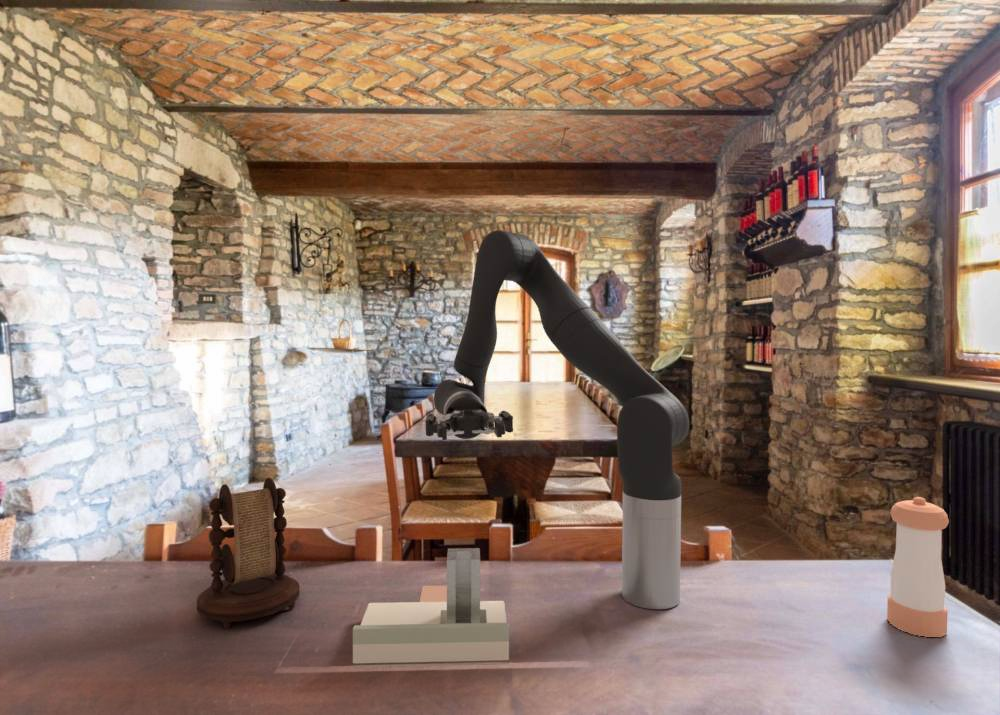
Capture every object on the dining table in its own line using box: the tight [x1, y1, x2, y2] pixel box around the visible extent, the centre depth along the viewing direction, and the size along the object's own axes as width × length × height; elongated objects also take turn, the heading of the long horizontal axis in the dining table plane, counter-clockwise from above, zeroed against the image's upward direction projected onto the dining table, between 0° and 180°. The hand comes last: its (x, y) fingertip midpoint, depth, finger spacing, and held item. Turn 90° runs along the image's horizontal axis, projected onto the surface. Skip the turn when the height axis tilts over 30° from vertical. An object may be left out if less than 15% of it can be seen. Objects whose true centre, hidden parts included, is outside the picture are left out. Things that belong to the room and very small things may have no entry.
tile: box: [419, 585, 447, 602], centre depth 96 cm, size 8×8×1 cm
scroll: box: [196, 477, 301, 630], centre depth 92 cm, size 15×15×20 cm
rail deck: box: [352, 600, 510, 669], centre depth 82 cm, size 12×20×5 cm, turn 93°
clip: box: [446, 547, 481, 624], centre depth 82 cm, size 4×4×12 cm
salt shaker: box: [886, 496, 950, 638], centre depth 87 cm, size 7×7×19 cm
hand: (472, 432), depth 91 cm, fingers open, 8 cm apart
